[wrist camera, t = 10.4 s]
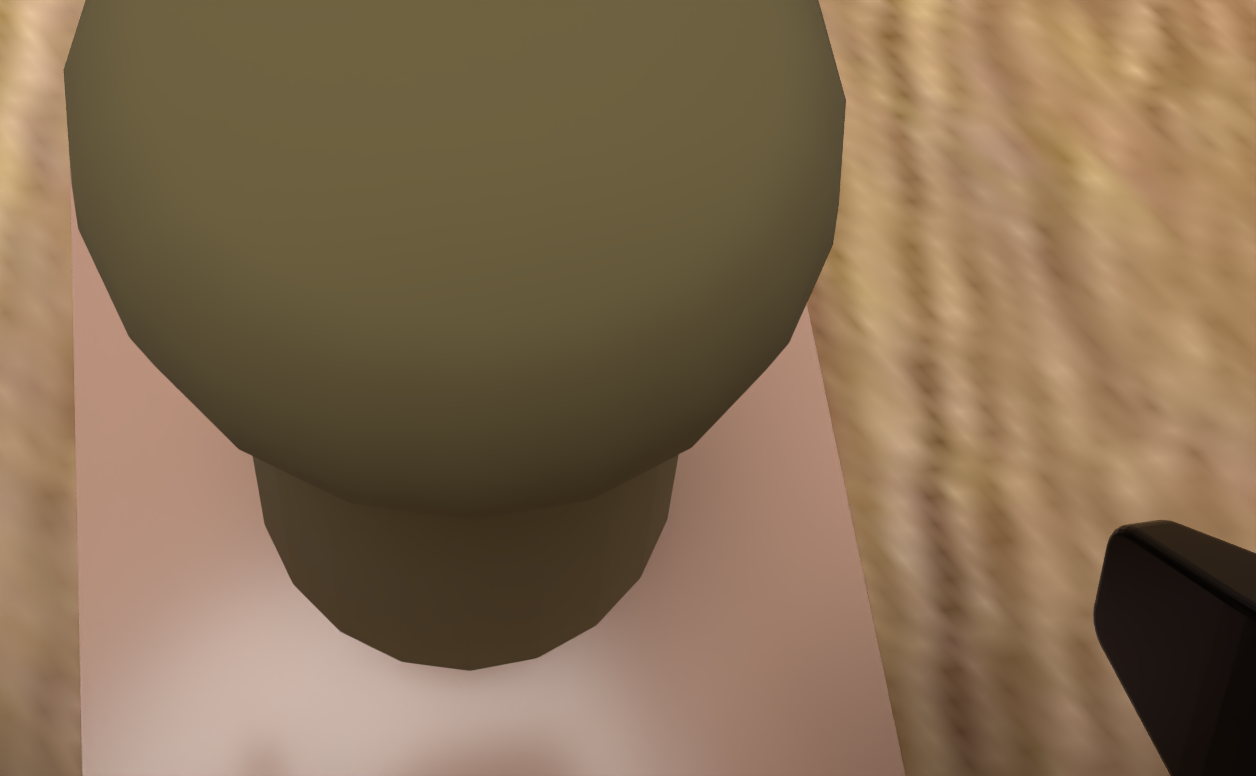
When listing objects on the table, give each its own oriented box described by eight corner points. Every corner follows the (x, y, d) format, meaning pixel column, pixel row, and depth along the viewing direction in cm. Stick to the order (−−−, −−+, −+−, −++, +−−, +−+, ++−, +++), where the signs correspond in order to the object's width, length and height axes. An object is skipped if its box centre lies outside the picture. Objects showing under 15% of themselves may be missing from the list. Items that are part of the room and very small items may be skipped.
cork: (684, 664, 16) (1057, 520, 6) (245, 677, 16) (-209, 535, 5) (664, 271, 18) (926, -366, 8) (269, 264, 17) (-31, -458, 7)
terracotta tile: (896, 787, 17) (908, 789, 16) (97, 929, 15) (85, 935, 14) (757, 120, 20) (764, 105, 19) (80, 168, 18) (69, 152, 17)
